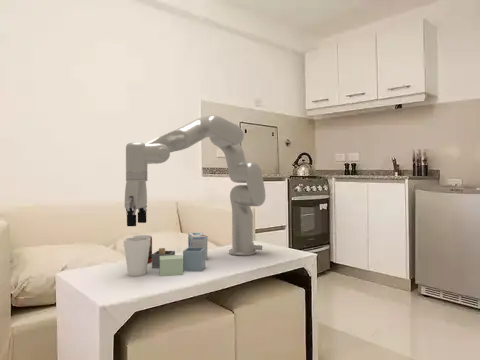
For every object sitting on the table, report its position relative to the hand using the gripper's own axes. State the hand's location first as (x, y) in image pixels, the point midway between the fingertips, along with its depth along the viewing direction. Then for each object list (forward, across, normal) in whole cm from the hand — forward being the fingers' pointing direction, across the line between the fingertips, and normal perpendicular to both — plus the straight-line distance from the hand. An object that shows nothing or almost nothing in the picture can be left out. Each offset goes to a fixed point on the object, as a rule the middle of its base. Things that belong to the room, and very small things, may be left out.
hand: (137, 224), depth 134 cm
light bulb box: (+19, -28, +16) cm, 37 cm away
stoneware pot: (+18, -9, +19) cm, 28 cm away
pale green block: (+18, -2, +12) cm, 22 cm away
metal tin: (+18, -12, +6) cm, 23 cm away
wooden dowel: (+18, -12, +6) cm, 22 cm away
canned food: (+18, -18, -5) cm, 26 cm away
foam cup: (+18, 0, 0) cm, 18 cm away
